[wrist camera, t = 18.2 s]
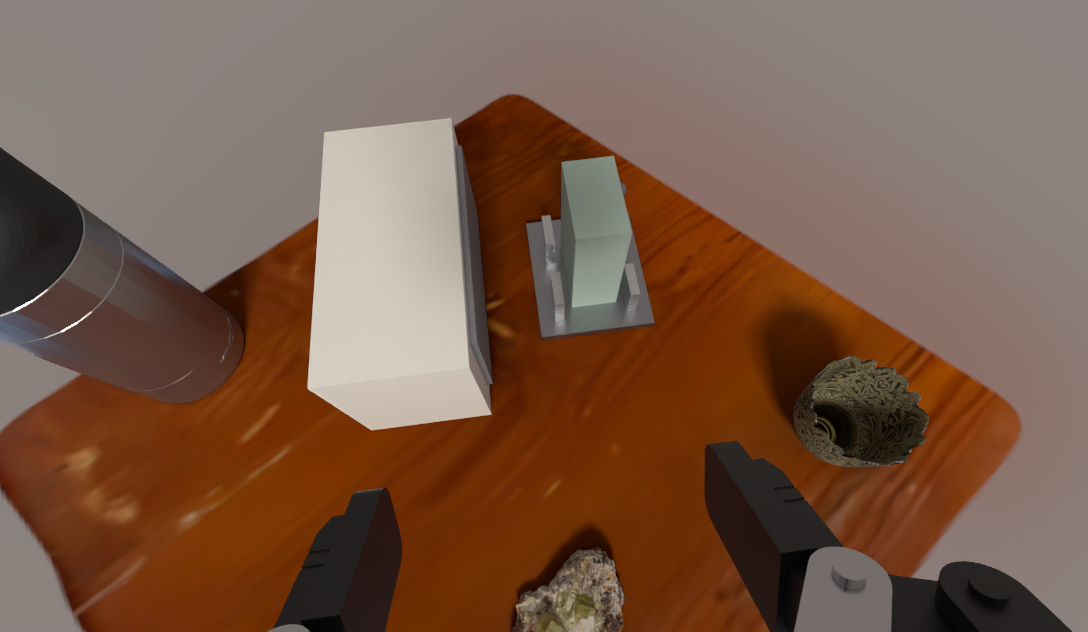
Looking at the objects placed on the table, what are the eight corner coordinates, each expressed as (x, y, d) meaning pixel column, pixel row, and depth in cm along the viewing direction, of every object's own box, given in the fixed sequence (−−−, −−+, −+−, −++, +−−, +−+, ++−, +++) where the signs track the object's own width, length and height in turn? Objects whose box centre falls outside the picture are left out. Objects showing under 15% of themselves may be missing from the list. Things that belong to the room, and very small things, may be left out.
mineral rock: (598, 756, 32) (488, 691, 31) (578, 726, 36) (479, 668, 35) (665, 583, 36) (568, 524, 36) (640, 574, 40) (552, 521, 40)
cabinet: (371, 430, 43) (307, 388, 32) (374, 221, 51) (324, 132, 40) (497, 413, 43) (477, 366, 32) (478, 208, 52) (457, 117, 41)
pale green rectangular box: (571, 307, 46) (575, 239, 36) (560, 241, 49) (561, 162, 39) (626, 300, 46) (646, 231, 36) (612, 235, 49) (626, 154, 39)
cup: (810, 371, 44) (860, 335, 36) (883, 439, 41) (953, 416, 34) (749, 425, 42) (790, 399, 35) (822, 500, 39) (881, 489, 32)
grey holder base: (541, 340, 45) (540, 323, 42) (526, 228, 50) (524, 204, 47) (653, 326, 46) (660, 308, 42) (626, 216, 51) (632, 191, 47)
